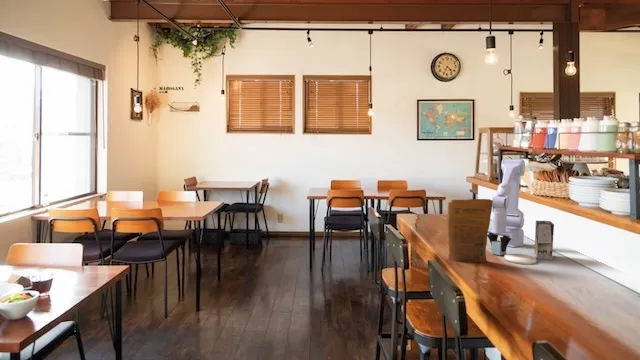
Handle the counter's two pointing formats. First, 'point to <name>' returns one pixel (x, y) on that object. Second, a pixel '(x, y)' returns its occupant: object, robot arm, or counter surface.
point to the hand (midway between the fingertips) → (498, 250)
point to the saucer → (520, 259)
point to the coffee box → (544, 239)
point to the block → (497, 248)
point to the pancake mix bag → (468, 229)
